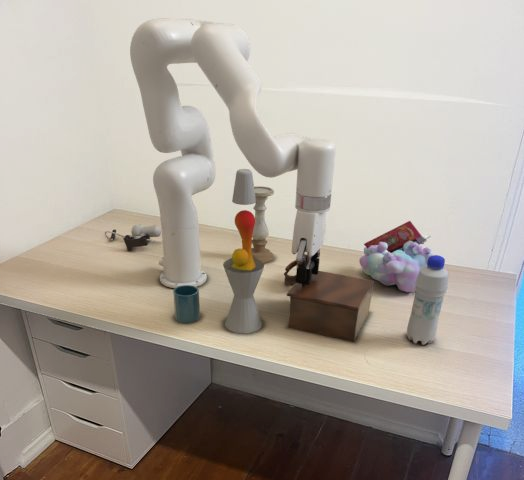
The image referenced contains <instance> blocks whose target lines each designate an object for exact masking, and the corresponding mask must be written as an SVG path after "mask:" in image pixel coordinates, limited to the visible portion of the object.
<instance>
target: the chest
mask: <svg viewBox="0 0 524 480" xmlns="http://www.w3.org/2000/svg"><path fill="white" fill-rule="evenodd" d="M373 287H374V284H373V285H372V287H371V288H370V290H369V292H368V294H367V296H366V297H365V299H364V301H363V303H362V305H361V306H360V308H359V310H358V311H357V310H352V309H348V308H343V307H338V306H333V305H328V304H323V303H318V302H313V301H309V300H304V299H299V298H294V297H289V311H288V328H291V329H295V330H299V331H303V332H308V333H312V334H317V335H321V336H326V337H331V338H335V339H341V340H344V341H349V342H353V343H354V342H355V341H356V338H357V337H358V335H359V333H360V331H361V329H362V327H363V325H364V323H365V321H366V319H367V317H368V315H369V313H370V308H371V303H372V301H371V300H372V296H373V295H372V294H373Z"/></svg>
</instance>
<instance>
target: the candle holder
mask: <svg viewBox="0 0 524 480" xmlns="http://www.w3.org/2000/svg"><path fill="white" fill-rule="evenodd" d="M254 190H255V197H256V203H254V205H253V208H252V209H253V210H254V217H255V225H254V229H253V234H252V246H253V247H251V248H252V256H253V258H256V259H259V260H261V261H262V262H263V263H264V264H266V263H270V262H272V261H273V260H274V257H275V256H274V255H275V254H274V253H273V252H272V251H271V250H270V249H269V248H267V247H266V246H267V244H268V240H267V238H268V237H269V235H270V232H269V227H268V225H267V222H266V216H265V215H266V213H265V212H266V210H267V209H268V208H267V205H266V201H267V200H268V198H269V197H271V196H273V195H274V193H275V190H274V189H273V188H271V187H269V186H259V185H257V186H254Z"/></svg>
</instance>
